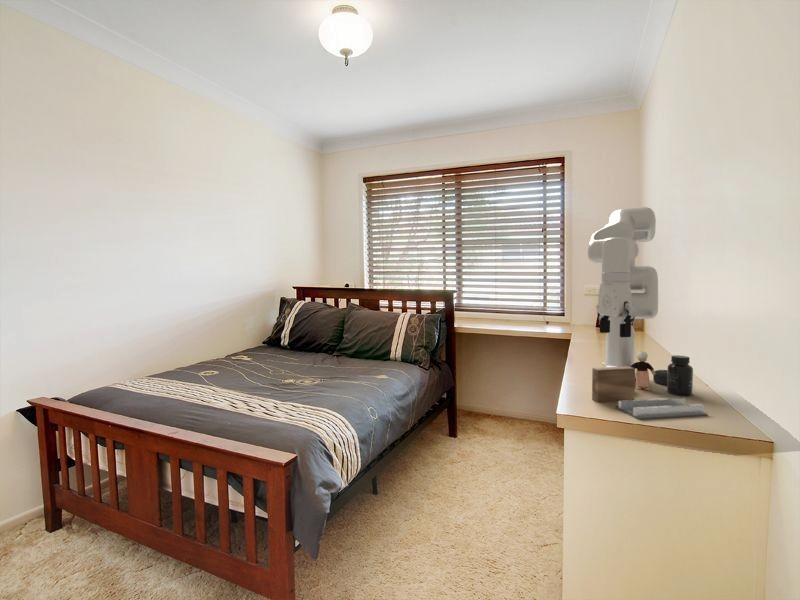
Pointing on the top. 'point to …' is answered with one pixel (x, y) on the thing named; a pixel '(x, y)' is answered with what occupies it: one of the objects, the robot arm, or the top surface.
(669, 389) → the supplement bottle
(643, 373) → the grandmother figurine
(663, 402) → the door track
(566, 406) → the top surface
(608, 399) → the walnut door panel
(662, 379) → the smart speaker
